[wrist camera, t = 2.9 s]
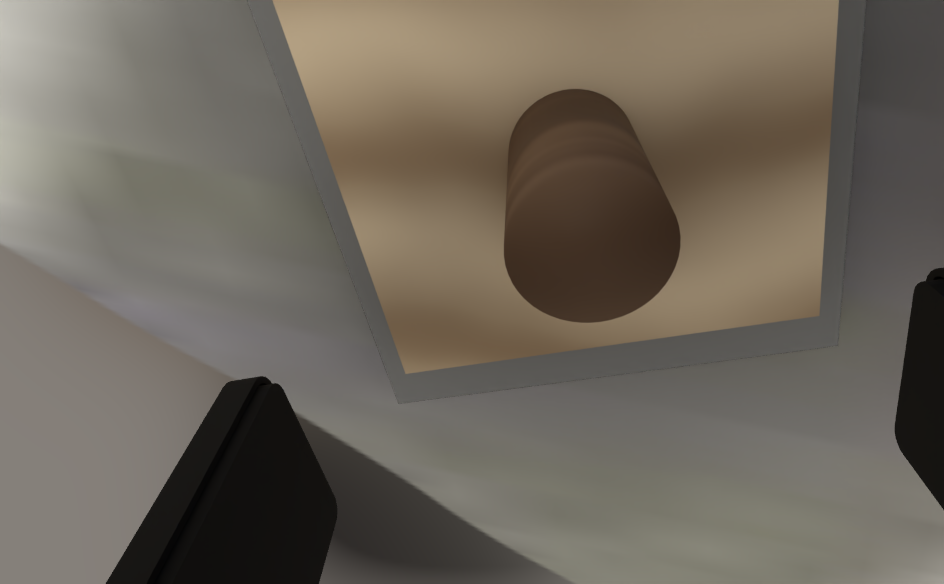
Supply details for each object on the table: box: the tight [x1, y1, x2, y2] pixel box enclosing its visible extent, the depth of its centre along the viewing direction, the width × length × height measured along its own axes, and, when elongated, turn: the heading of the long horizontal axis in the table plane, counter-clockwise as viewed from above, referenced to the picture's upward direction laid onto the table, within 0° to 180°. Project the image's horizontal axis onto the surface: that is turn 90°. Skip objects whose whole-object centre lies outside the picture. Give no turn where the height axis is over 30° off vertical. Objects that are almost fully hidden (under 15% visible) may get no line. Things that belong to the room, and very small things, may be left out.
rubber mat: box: [247, 0, 866, 404], centre depth 19 cm, size 18×16×1 cm
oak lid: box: [273, 0, 839, 374], centre depth 16 cm, size 14×14×7 cm
